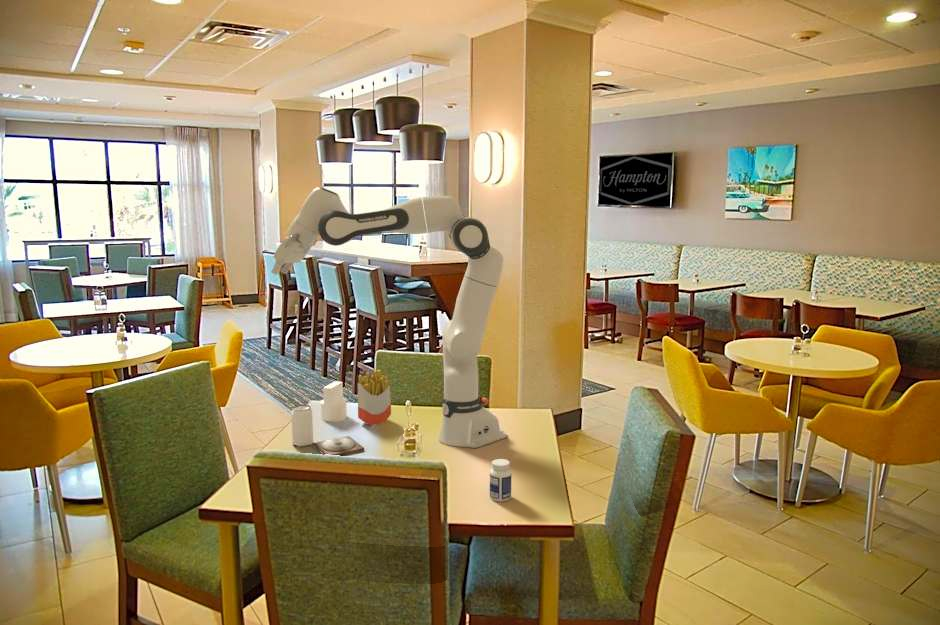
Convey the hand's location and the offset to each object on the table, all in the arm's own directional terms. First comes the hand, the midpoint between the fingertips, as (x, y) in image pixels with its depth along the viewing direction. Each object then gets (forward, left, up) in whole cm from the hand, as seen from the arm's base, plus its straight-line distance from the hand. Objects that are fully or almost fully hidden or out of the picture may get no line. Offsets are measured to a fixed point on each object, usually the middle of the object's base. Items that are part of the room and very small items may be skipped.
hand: (278, 273), depth 208 cm
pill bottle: (-35, +69, -55) cm, 95 cm away
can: (-4, +4, -55) cm, 55 cm away
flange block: (-12, +14, -54) cm, 57 cm away
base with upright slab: (-22, -15, -55) cm, 61 cm away
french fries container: (-32, -2, -55) cm, 63 cm away
